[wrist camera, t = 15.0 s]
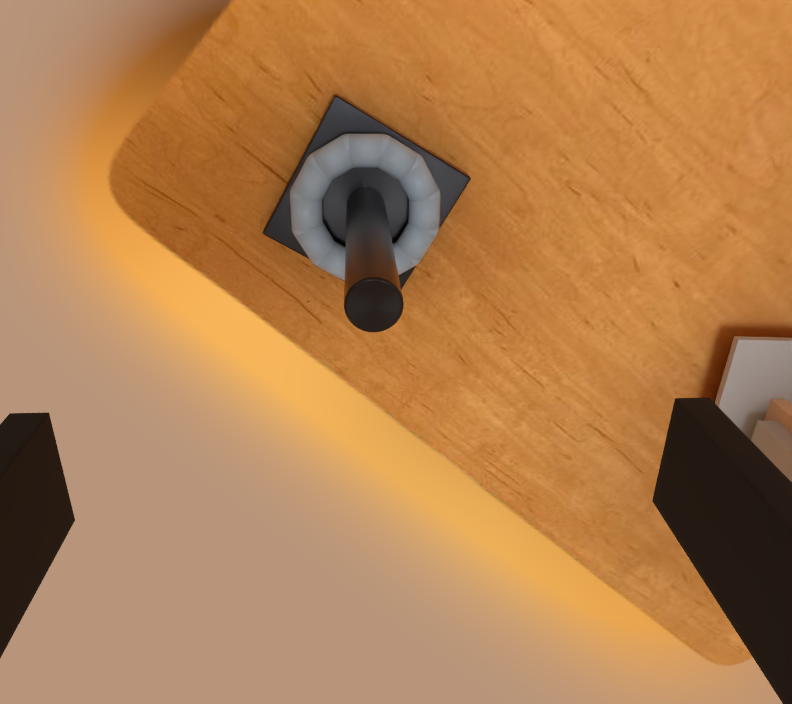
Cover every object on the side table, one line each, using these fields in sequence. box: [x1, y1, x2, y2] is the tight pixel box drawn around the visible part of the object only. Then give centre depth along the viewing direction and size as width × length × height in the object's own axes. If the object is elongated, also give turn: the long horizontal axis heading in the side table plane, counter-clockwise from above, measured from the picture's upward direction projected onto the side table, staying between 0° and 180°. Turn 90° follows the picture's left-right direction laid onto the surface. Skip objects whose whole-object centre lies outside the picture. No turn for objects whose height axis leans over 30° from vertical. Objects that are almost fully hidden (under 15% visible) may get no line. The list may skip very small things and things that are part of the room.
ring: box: [290, 134, 441, 281], centre depth 35 cm, size 8×8×2 cm
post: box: [263, 94, 471, 332], centre depth 30 cm, size 8×8×15 cm
